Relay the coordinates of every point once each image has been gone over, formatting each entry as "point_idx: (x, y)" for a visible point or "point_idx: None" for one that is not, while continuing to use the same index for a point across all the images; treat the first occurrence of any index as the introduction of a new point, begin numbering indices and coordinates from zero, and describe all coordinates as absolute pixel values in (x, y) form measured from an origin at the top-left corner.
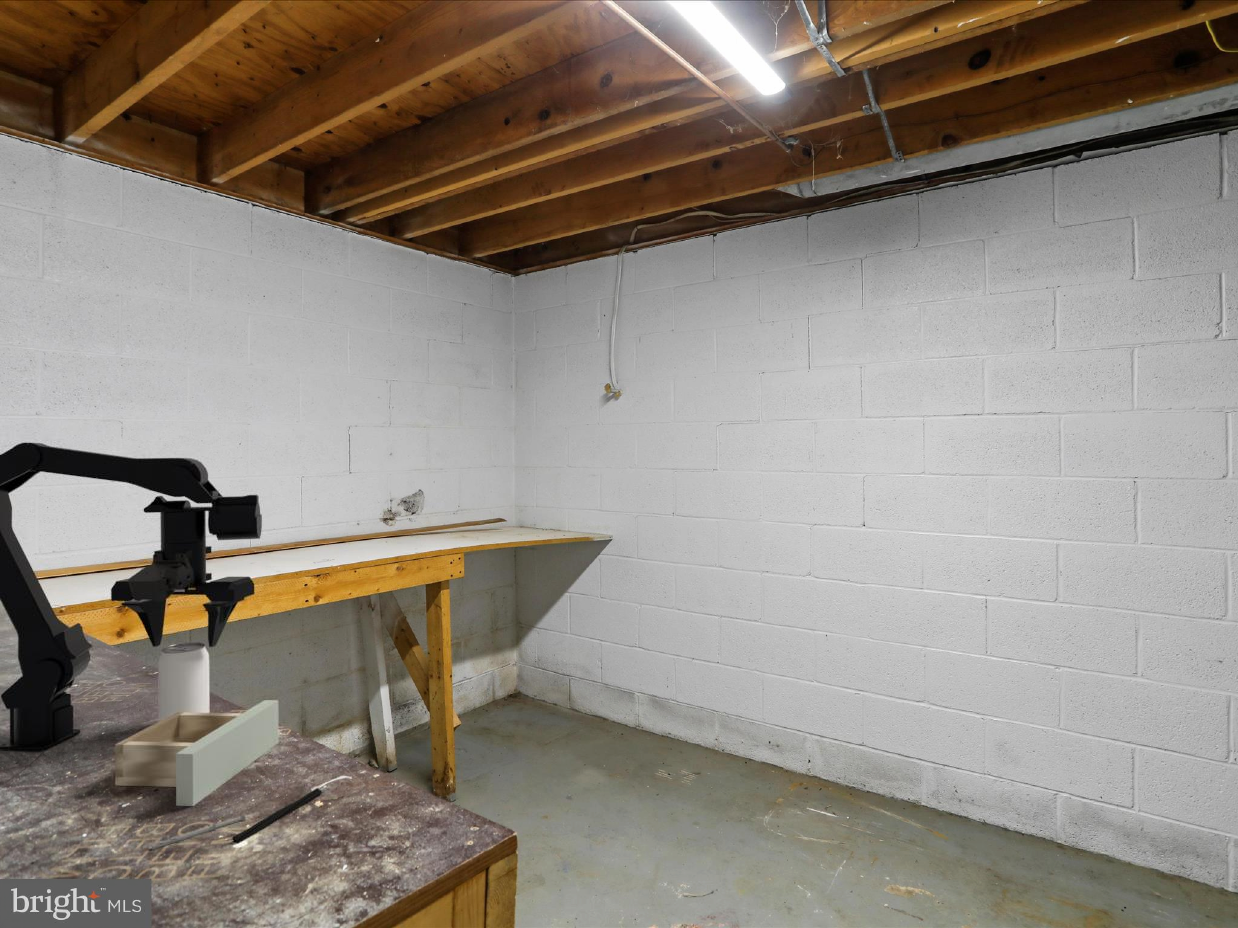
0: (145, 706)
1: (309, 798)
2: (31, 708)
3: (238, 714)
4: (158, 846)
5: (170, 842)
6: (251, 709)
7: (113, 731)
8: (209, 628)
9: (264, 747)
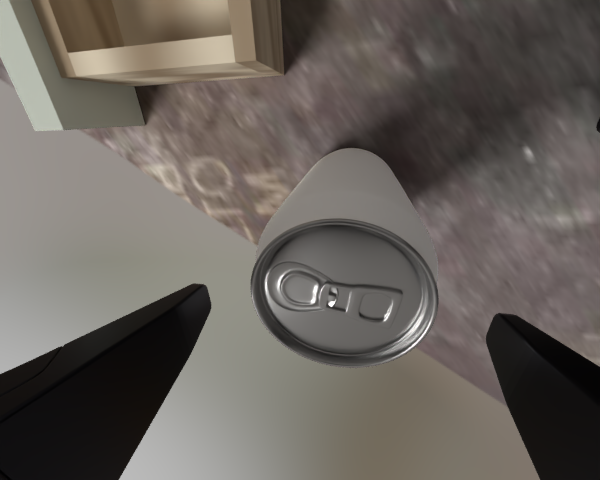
0: (506, 301)
1: None
2: None
3: (88, 65)
4: None
5: None
6: (23, 46)
7: (505, 164)
8: (108, 339)
9: None
